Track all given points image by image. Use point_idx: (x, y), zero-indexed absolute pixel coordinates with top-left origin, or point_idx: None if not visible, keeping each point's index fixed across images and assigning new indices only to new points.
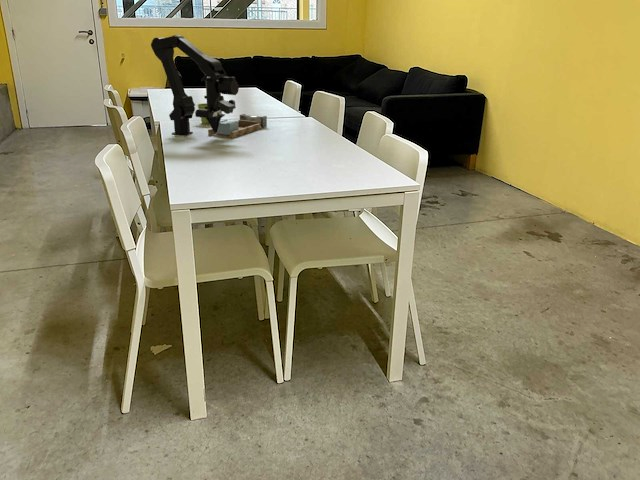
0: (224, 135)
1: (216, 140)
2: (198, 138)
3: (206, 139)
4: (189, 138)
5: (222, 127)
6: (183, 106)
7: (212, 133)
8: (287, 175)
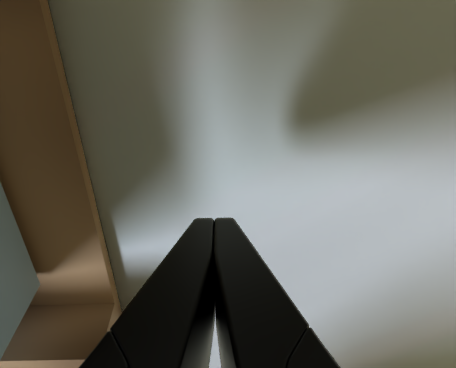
0: (16, 146)
1: (354, 79)
2: (324, 311)
3: (341, 226)
4: (359, 361)
5: None
6: None
7: (69, 311)
8: None
